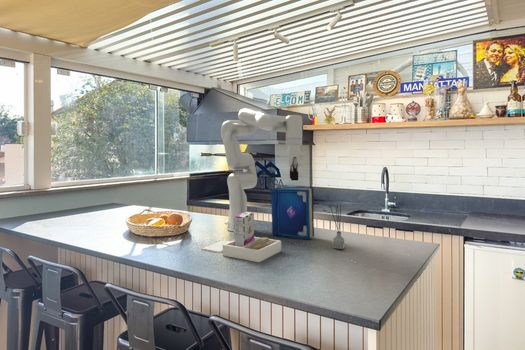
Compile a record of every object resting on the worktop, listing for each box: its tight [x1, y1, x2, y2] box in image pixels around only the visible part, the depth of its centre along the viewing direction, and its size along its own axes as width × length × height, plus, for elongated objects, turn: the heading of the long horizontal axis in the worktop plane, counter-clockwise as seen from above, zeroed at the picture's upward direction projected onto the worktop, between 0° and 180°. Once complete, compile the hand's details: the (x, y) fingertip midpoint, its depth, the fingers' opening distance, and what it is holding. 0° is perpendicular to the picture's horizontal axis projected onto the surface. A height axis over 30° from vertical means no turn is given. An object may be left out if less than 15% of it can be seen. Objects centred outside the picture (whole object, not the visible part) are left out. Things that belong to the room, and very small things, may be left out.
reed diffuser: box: [329, 203, 346, 250], centre depth 158 cm, size 10×7×20 cm
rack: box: [222, 236, 282, 263], centre depth 152 cm, size 18×18×4 cm
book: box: [270, 186, 315, 240], centre depth 180 cm, size 22×7×25 cm, turn 62°
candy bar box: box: [233, 211, 255, 247], centre depth 154 cm, size 11×5×16 cm, turn 160°
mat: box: [201, 240, 231, 254], centre depth 162 cm, size 10×16×1 cm, turn 148°
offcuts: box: [248, 236, 274, 250], centre depth 150 cm, size 5×12×6 cm, turn 148°
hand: (293, 179), depth 166 cm, fingers open, 9 cm apart
